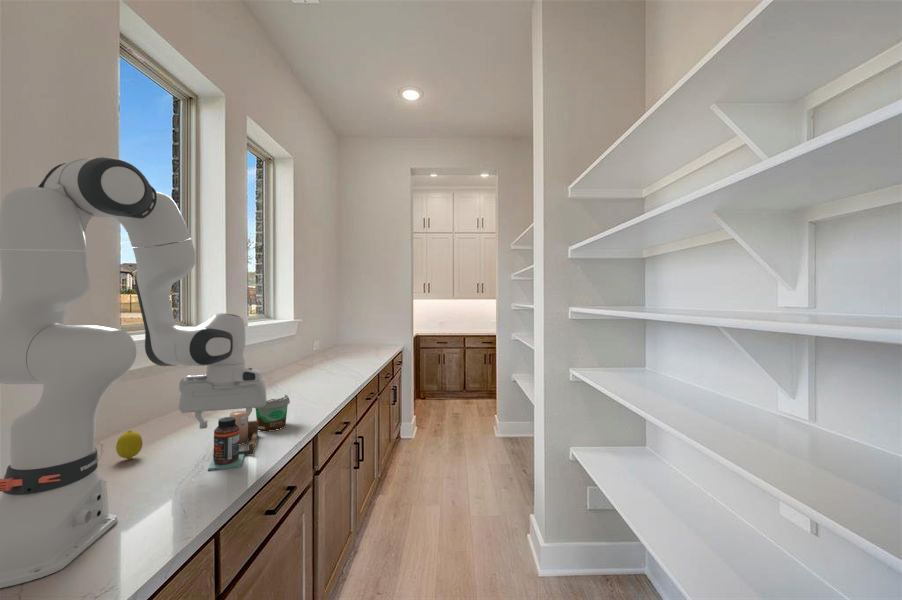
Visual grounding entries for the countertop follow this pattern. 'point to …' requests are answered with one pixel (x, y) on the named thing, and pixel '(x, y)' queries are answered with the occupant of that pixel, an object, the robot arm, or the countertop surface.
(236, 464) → the coaster
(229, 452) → the supplement bottle
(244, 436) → the peach capsule
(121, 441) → the lemon
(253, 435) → the rack
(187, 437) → the countertop surface
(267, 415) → the food container
